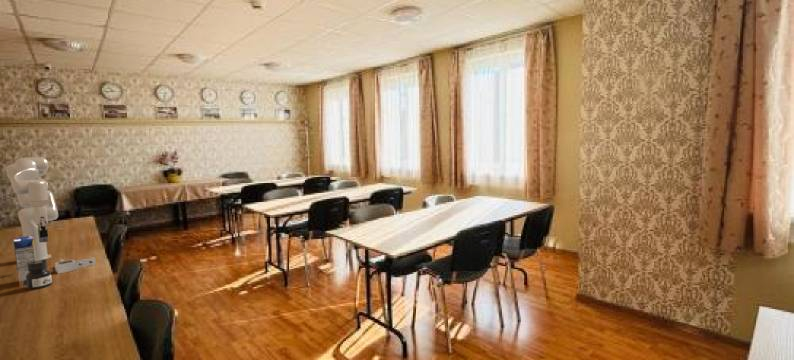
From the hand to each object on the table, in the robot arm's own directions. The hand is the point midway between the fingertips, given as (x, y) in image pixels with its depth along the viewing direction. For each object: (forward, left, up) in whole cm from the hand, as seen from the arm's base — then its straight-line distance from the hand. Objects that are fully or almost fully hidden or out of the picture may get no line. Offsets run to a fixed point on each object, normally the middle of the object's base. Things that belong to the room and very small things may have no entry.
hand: (43, 236), depth 216 cm
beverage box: (+20, -9, -18) cm, 29 cm away
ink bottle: (+34, -7, -18) cm, 40 cm away
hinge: (+9, +10, -18) cm, 23 cm away
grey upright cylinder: (0, 0, -3) cm, 3 cm away
